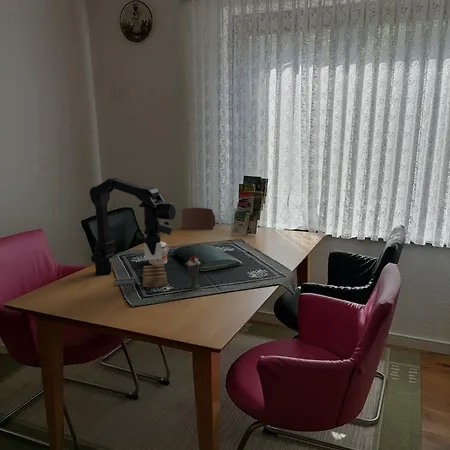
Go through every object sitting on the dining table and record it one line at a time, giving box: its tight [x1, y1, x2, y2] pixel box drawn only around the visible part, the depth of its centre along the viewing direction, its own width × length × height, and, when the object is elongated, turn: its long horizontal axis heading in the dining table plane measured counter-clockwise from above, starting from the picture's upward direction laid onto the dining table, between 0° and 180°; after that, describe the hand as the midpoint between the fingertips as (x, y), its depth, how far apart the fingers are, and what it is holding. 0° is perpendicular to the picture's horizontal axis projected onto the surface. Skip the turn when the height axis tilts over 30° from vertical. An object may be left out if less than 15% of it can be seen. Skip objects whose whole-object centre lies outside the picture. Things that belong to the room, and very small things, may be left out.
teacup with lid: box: [148, 241, 169, 266], centre depth 206 cm, size 12×9×12 cm
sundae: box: [184, 254, 202, 290], centre depth 173 cm, size 7×7×15 cm
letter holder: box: [181, 207, 216, 231], centre depth 272 cm, size 10×20×14 cm, turn 83°
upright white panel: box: [143, 241, 162, 261], centre depth 180 cm, size 7×2×6 cm, turn 101°
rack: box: [142, 264, 169, 288], centre depth 182 cm, size 10×15×4 cm, turn 11°
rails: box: [114, 277, 136, 286], centre depth 180 cm, size 8×5×1 cm, turn 101°
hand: (153, 254), depth 180 cm, fingers closed on upright white panel, 2 cm apart
